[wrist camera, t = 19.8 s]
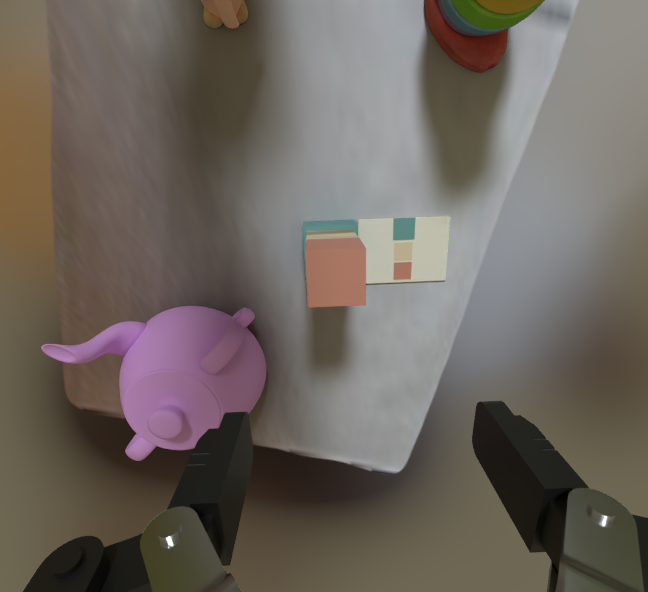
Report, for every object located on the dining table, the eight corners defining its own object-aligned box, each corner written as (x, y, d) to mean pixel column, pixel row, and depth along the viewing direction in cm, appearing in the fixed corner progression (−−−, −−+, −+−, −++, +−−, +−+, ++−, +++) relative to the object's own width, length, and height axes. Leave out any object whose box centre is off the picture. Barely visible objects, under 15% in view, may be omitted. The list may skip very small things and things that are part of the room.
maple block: (307, 231, 38) (305, 239, 33) (353, 229, 38) (358, 237, 33) (309, 275, 39) (308, 289, 35) (353, 273, 40) (358, 287, 35)
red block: (306, 239, 33) (305, 250, 28) (359, 237, 33) (366, 248, 28) (309, 289, 35) (308, 307, 30) (359, 287, 35) (365, 305, 30)
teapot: (166, 232, 42) (97, 259, 29) (306, 337, 47) (302, 401, 34) (78, 356, 47) (-14, 427, 34) (212, 439, 52) (177, 528, 39)
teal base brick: (303, 221, 41) (302, 226, 38) (353, 219, 41) (357, 224, 38) (306, 270, 43) (305, 279, 40) (354, 268, 43) (357, 277, 40)
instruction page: (358, 219, 41) (358, 219, 41) (449, 215, 42) (450, 216, 41) (358, 283, 44) (358, 284, 44) (444, 279, 44) (445, 280, 44)
